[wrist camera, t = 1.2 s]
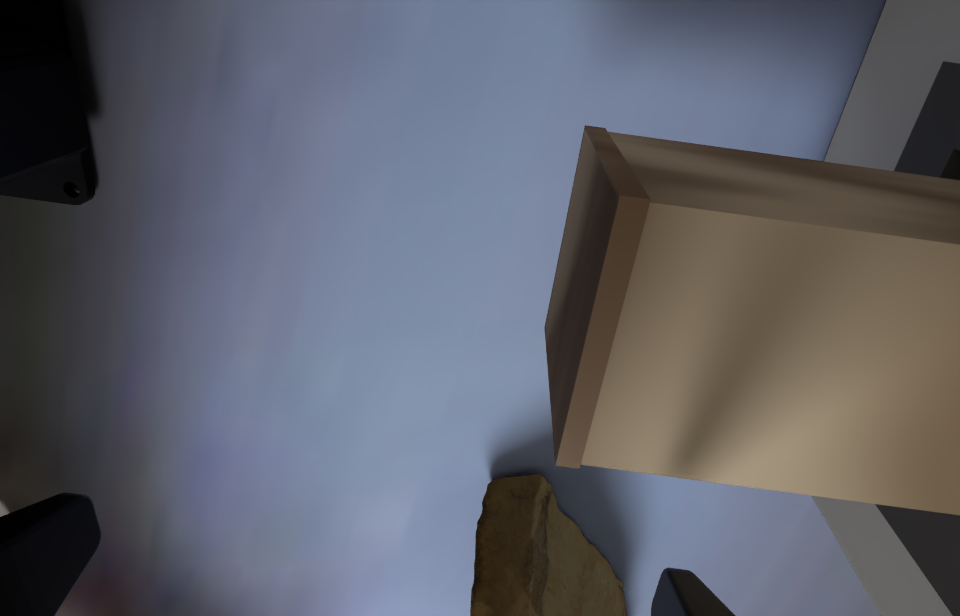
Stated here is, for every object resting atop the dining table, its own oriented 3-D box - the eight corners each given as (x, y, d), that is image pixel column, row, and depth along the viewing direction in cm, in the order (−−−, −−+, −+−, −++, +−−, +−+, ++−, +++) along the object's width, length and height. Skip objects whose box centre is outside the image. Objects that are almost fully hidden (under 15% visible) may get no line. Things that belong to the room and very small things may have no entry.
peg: (544, 327, 14) (555, 465, 10) (585, 125, 12) (620, 195, 8) (1054, 396, 14) (1273, 561, 10) (1187, 208, 12) (1533, 321, 8)
